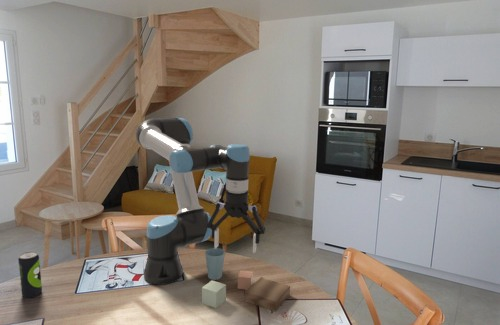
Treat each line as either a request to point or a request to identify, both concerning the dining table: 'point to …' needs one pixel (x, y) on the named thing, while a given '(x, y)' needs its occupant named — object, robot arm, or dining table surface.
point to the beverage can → (30, 274)
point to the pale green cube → (213, 294)
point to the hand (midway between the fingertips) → (235, 249)
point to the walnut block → (267, 294)
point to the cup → (215, 263)
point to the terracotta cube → (245, 279)
